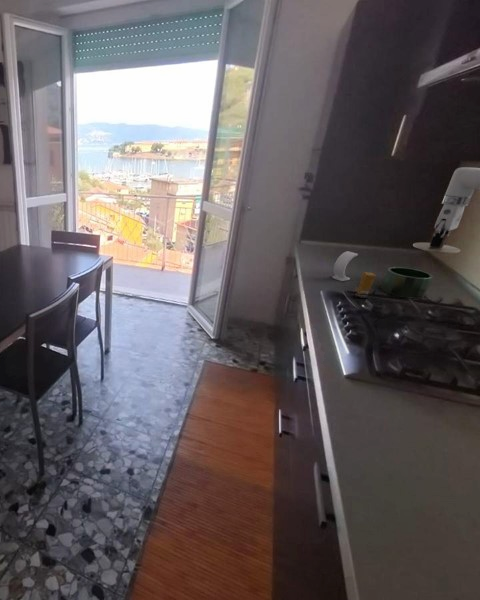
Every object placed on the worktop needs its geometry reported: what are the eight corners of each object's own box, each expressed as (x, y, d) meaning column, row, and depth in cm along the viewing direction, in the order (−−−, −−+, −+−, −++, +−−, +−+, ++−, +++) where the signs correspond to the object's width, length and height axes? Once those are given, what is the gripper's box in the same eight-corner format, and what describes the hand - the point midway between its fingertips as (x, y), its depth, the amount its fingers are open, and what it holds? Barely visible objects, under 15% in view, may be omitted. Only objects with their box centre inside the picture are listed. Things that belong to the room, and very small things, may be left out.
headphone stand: (349, 279, 159) (358, 253, 154) (340, 281, 157) (348, 255, 152) (339, 276, 163) (347, 251, 158) (330, 278, 161) (337, 252, 156)
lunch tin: (429, 294, 143) (438, 274, 140) (415, 301, 137) (424, 280, 134) (389, 283, 154) (396, 265, 151) (374, 290, 148) (381, 270, 144)
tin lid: (465, 251, 147) (472, 235, 144) (451, 256, 140) (459, 240, 137) (420, 243, 158) (426, 228, 155) (406, 248, 151) (412, 232, 149)
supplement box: (367, 299, 139) (376, 275, 135) (357, 298, 140) (365, 274, 136) (365, 296, 142) (373, 272, 138) (354, 295, 143) (362, 271, 139)
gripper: (461, 203, 134) (440, 250, 141) (476, 200, 142) (456, 244, 149) (435, 201, 140) (417, 246, 147) (451, 197, 147) (433, 240, 155)
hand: (437, 245), depth 148 cm, fingers closed on tin lid, 4 cm apart
